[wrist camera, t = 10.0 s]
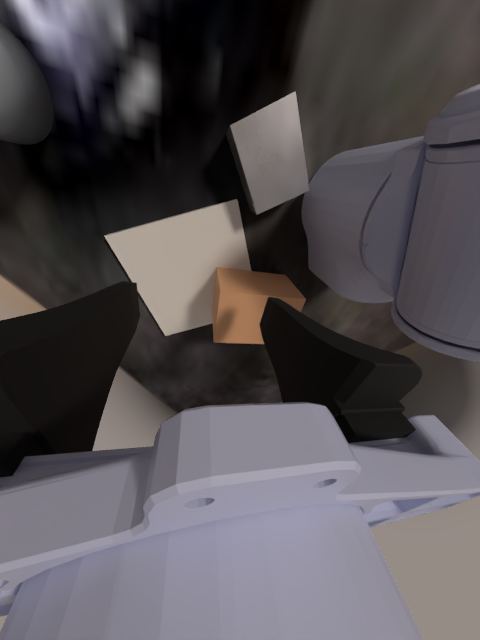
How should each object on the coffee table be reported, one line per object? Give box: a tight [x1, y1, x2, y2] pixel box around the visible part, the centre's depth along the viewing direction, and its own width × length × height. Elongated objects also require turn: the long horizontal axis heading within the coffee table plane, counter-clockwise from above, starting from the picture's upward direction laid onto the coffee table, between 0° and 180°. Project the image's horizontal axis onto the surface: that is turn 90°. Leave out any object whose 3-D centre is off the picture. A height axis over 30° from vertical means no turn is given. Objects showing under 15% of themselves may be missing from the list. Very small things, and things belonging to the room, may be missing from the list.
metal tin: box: [226, 92, 309, 215], centre depth 14 cm, size 5×4×3 cm
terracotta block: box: [212, 267, 306, 344], centre depth 18 cm, size 5×5×7 cm
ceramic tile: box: [104, 199, 251, 336], centre depth 19 cm, size 11×11×1 cm
